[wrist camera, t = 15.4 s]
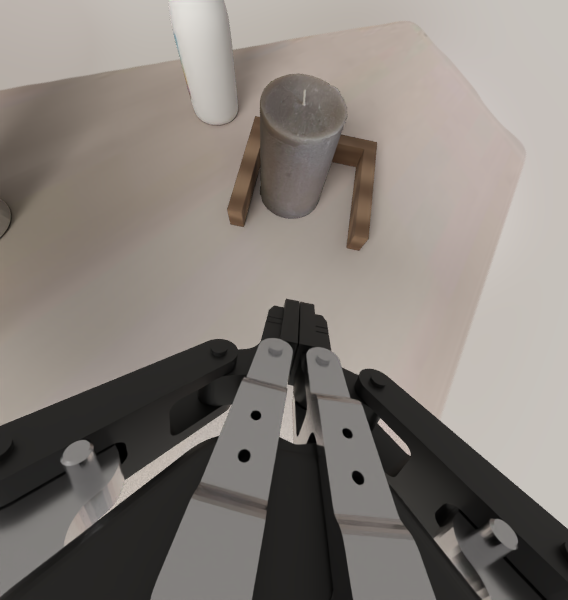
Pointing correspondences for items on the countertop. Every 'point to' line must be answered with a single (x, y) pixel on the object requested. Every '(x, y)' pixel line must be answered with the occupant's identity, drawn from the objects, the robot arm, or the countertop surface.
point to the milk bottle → (206, 57)
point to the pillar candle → (297, 141)
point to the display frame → (346, 153)
